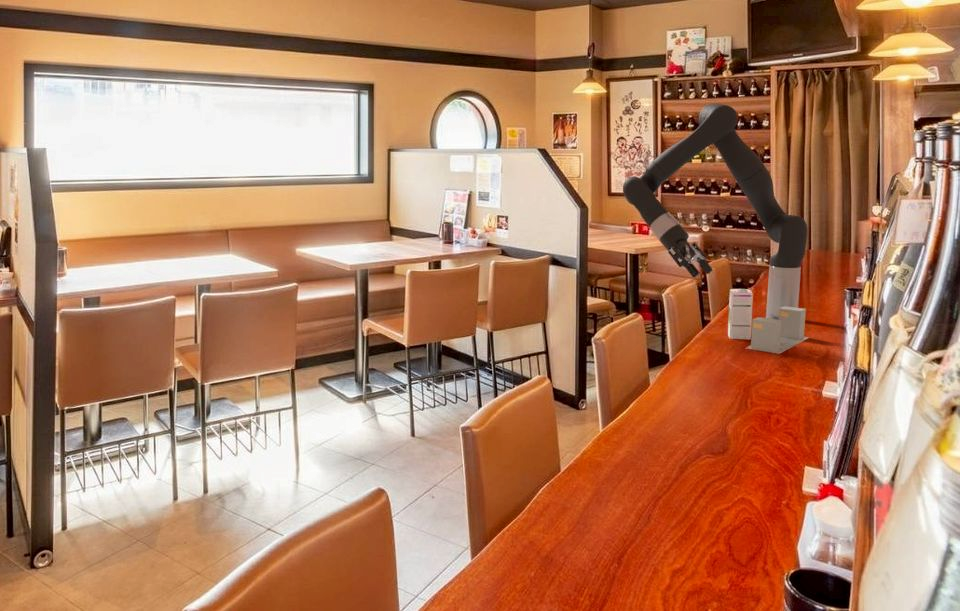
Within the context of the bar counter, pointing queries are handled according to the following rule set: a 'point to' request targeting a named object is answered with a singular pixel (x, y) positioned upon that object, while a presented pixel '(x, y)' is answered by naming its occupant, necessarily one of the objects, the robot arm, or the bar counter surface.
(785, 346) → the grey flat base plate
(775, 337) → the block
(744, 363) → the bar counter surface
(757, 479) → the bar counter surface
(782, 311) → the block
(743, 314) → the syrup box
